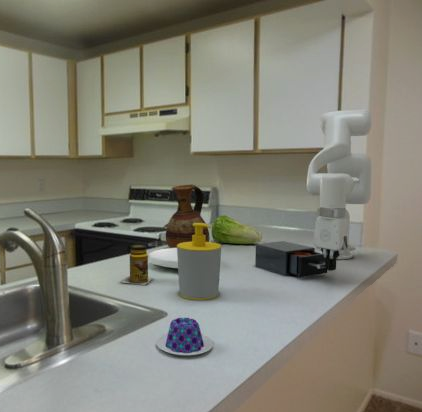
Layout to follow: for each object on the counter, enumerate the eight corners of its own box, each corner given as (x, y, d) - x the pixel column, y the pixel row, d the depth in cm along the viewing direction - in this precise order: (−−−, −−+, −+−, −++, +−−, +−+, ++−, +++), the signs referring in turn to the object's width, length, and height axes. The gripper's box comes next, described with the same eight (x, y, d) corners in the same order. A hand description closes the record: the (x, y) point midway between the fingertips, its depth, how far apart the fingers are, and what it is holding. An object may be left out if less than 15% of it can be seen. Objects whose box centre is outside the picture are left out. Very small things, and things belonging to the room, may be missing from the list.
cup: (301, 265, 147) (301, 251, 146) (314, 269, 141) (314, 254, 141) (288, 267, 144) (288, 253, 144) (301, 271, 139) (302, 256, 138)
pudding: (150, 337, 91) (150, 314, 90) (201, 331, 94) (201, 309, 93) (164, 362, 79) (164, 336, 79) (222, 355, 82) (222, 329, 82)
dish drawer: (339, 276, 136) (340, 256, 135) (312, 281, 131) (312, 260, 130) (295, 264, 153) (296, 246, 153) (270, 268, 148) (270, 249, 148)
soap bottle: (210, 303, 113) (210, 227, 111) (169, 296, 120) (168, 224, 118) (227, 291, 124) (228, 222, 122) (188, 285, 131) (188, 219, 129)
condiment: (145, 285, 131) (145, 248, 130) (120, 283, 134) (120, 247, 133) (152, 279, 138) (151, 244, 137) (128, 277, 141) (128, 243, 140)
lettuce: (262, 247, 204) (255, 255, 191) (215, 236, 214) (206, 243, 201) (267, 220, 200) (260, 227, 188) (219, 210, 211) (210, 216, 198)
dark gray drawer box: (314, 271, 146) (314, 247, 146) (285, 276, 141) (286, 251, 140) (282, 262, 160) (283, 240, 160) (255, 266, 155) (255, 244, 154)
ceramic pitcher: (156, 249, 188) (156, 184, 185) (186, 243, 202) (186, 183, 199) (188, 256, 174) (188, 185, 171) (218, 249, 187) (218, 184, 184)
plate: (155, 245, 174) (219, 247, 168) (155, 260, 174) (219, 263, 168) (142, 251, 146) (217, 254, 141) (141, 269, 146) (217, 273, 141)
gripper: (305, 211, 135) (303, 266, 137) (344, 216, 122) (342, 276, 123) (321, 210, 138) (319, 263, 140) (361, 214, 125) (359, 273, 127)
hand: (330, 269), depth 132 cm, fingers closed
